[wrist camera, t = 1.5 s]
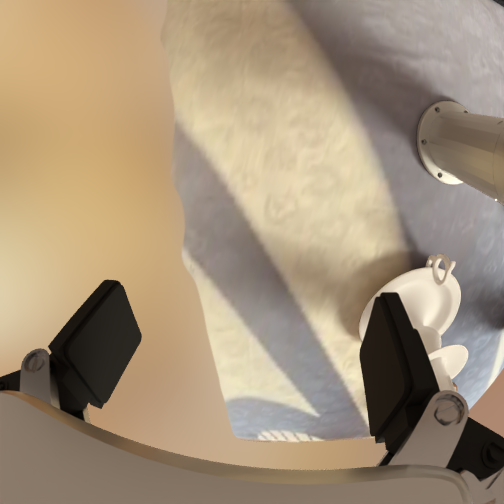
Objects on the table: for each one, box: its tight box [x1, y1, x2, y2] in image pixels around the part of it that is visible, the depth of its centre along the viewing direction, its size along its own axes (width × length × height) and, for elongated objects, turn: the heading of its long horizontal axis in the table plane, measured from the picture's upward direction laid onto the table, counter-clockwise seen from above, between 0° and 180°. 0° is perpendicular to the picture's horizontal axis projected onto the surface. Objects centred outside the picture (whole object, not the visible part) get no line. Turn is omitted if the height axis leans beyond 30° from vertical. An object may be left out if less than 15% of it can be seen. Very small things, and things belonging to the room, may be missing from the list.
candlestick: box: [359, 254, 468, 392], centre depth 30 cm, size 21×25×28 cm
